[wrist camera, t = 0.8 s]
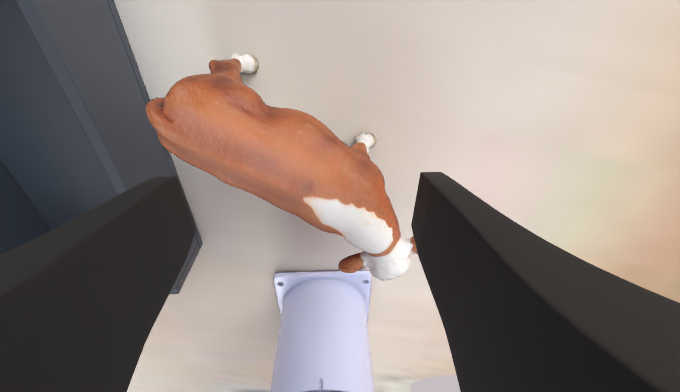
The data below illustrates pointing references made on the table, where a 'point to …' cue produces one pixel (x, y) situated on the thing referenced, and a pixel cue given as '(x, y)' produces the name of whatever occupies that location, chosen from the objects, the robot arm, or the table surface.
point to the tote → (71, 118)
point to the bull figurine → (283, 161)
